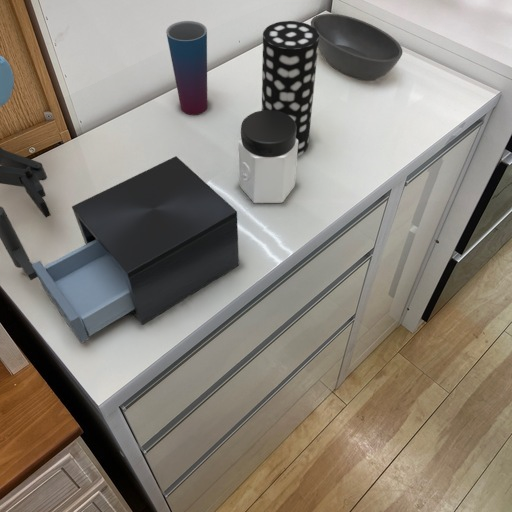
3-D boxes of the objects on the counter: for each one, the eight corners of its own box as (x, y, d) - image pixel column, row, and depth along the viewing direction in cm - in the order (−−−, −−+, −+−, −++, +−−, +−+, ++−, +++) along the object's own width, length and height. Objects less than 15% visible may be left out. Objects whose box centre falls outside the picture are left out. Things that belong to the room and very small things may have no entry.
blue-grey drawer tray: (70, 349, 66) (45, 300, 58) (13, 263, 74) (-16, 210, 66) (178, 284, 72) (169, 232, 64) (114, 212, 81) (98, 158, 73)
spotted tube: (286, 123, 98) (292, 15, 82) (318, 145, 94) (330, 36, 78) (251, 141, 94) (251, 32, 79) (283, 165, 90) (289, 55, 75)
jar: (231, 179, 88) (229, 118, 79) (273, 163, 91) (275, 102, 81) (260, 213, 83) (260, 152, 74) (303, 194, 86) (309, 133, 76)
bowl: (369, 99, 103) (375, 70, 98) (293, 52, 114) (295, 24, 109) (410, 77, 108) (418, 48, 103) (334, 35, 119) (337, 7, 114)
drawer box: (142, 325, 70) (127, 273, 61) (91, 260, 77) (71, 206, 68) (238, 265, 76) (237, 211, 68) (183, 211, 83) (176, 155, 75)
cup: (172, 100, 102) (161, 24, 91) (206, 93, 104) (200, 18, 92) (181, 120, 98) (172, 43, 87) (216, 113, 100) (212, 36, 88)
